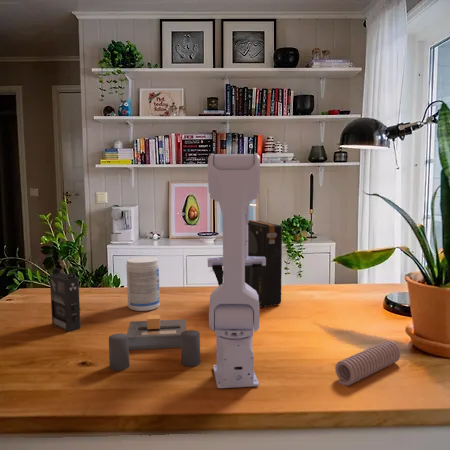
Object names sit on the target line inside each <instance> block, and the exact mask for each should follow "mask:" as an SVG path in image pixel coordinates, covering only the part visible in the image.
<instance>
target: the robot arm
mask: <svg viewBox="0 0 450 450" xmlns="http://www.w3.org/2000/svg"><path fill="white" fill-rule="evenodd" d="M260 178H261V156H260V155H259V154H258V153H257V152H256V153H254V154H253V153H233V154H231V153H217V154H215V153H210V154H209V156H208V157H207V181H208V194H209V198H210V199H211V200H213V201H215V202H216V203H218V205H219V208H220V212H221V215H222V216H221V217H222V256H220V257H219V256H218V257H208V258H207V268H212V271H213V273H214V276H215V278H216V280H217V284H218V286H217V287H215V288H214V289H213V290H212V291H211V293H210V295H209V307H208V326H209V327H208V328H209V329H210V330H211V331H212V332H215V333H214V336H215V338H216V342H215V343H216V347H215V348H216V364H213V366H212V369H213V373H214V379H215V384H216V387H217V388H218V389H228V388H229V389H230V388H247V387H250V388H251V387H259V385H260V382H259V381H258V377H257V375H256V373H255V369H254V368H255V355H254V351H253V341H254V340H253V339H254V337H253V336H254V332H255V333H256V332H257V331H258V330H259V329H260V306H259V297H258V294H257V291H256V290H255V286H256V282H257V280H258V277H259V275H260V273H261V272H262V266H265V265H266V258H265V257H255V256H248V223H249V220H250V211H251V202H252V201H254V200H256V199H258V197H259V194H260V183H261V179H260ZM245 265H249V267H250V286H249V285H248V284H246V283H245Z"/></svg>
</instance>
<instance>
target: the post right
mask: <svg viewBox="0 0 450 450" xmlns="http://www.w3.org/2000/svg"><path fill="white" fill-rule="evenodd" d="M200 334H201V333H200V331H198V330H192V329H190V330H187V331H184V332H182V333H181V348H180V353H181V354H180V358H181V359H180V360H181V361H180V362H181V363H180V364H181V365H182V366H184V367H187V368H192V367H193V368H194V367H196V366H199V365H201V338H200V337H201V336H200Z"/></svg>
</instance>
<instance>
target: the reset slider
mask: <svg viewBox="0 0 450 450" xmlns="http://www.w3.org/2000/svg"><path fill="white" fill-rule="evenodd" d="M160 320H161V314H147V317H146V321H147V329H160Z"/></svg>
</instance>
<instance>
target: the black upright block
mask: <svg viewBox="0 0 450 450" xmlns="http://www.w3.org/2000/svg"><path fill="white" fill-rule="evenodd" d="M282 252H283V226H282V225H281V224H275V223H271V222H265V221H260V220H253V219H249V223H248V256H255V257H265V258H266V265H265V266H262V272H261V273H260V275H259V277H258V280H257V282H256V286H255V290H256V291H257V294H258V297H259V308H262V309H263V308H266V307H269V306H276V305H280V304H281V303H282V268H283V267H282V258H283V257H282V255H283V253H282ZM245 283H246V284H248V285H249V286H250V267H249V265H245Z"/></svg>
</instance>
